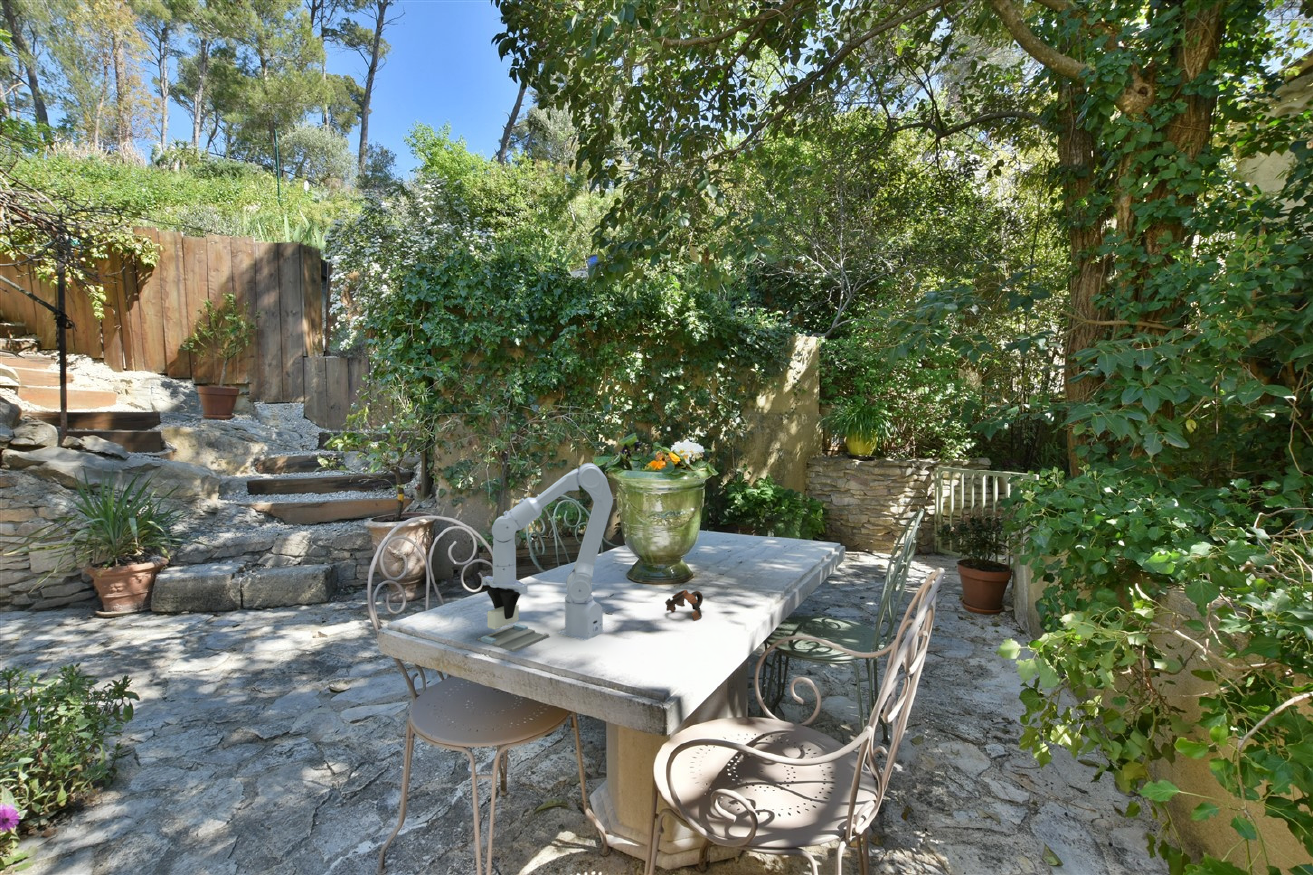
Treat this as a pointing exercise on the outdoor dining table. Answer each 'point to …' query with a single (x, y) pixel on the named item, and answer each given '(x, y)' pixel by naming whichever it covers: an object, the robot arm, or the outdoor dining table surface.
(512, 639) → the duct plate
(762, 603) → the outdoor dining table surface
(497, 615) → the cream foam block
